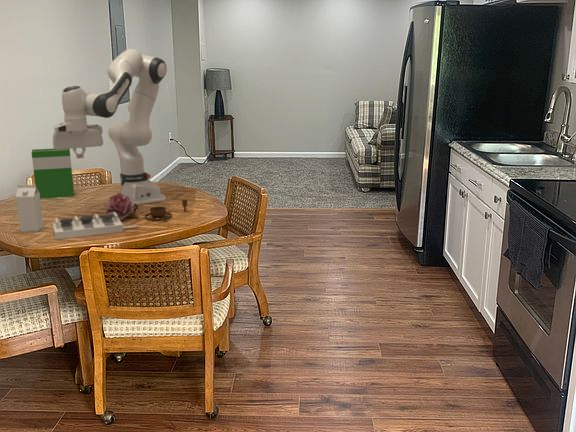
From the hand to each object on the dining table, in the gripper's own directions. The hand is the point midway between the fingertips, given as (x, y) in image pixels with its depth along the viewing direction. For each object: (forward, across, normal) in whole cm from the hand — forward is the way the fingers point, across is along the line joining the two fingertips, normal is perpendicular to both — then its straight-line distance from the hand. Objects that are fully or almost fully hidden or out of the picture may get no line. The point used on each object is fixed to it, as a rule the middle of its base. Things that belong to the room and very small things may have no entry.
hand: (80, 158), depth 244 cm
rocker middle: (+23, +2, +18) cm, 29 cm away
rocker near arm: (+23, -6, +18) cm, 30 cm away
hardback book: (+28, +10, -51) cm, 59 cm away
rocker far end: (+23, +10, +18) cm, 31 cm away
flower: (+28, -14, +4) cm, 32 cm away
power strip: (+27, -1, +20) cm, 33 cm away
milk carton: (+27, +23, +7) cm, 36 cm away
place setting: (+29, -33, +11) cm, 45 cm away
